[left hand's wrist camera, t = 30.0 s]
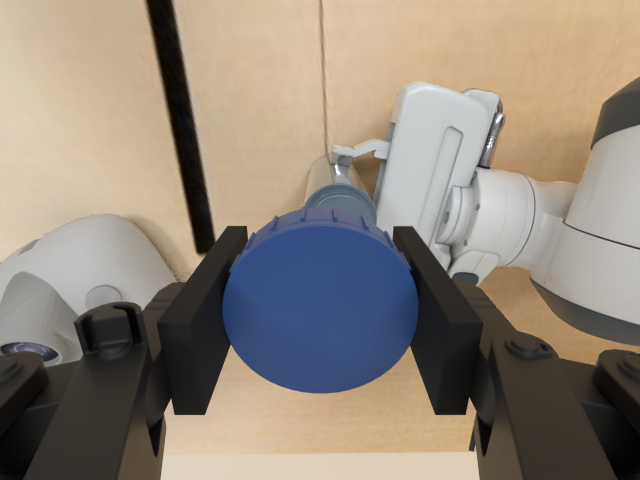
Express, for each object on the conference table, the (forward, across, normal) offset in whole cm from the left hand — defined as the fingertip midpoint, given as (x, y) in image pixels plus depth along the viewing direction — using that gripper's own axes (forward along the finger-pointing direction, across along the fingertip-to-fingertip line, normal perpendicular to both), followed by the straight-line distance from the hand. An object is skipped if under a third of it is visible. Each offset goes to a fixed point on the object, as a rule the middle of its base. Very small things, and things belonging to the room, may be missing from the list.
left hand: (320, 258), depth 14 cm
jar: (+24, +1, -2) cm, 25 cm away
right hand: (+18, 0, -2) cm, 18 cm away
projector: (+24, -22, -17) cm, 37 cm away
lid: (-4, 0, 0) cm, 4 cm away
